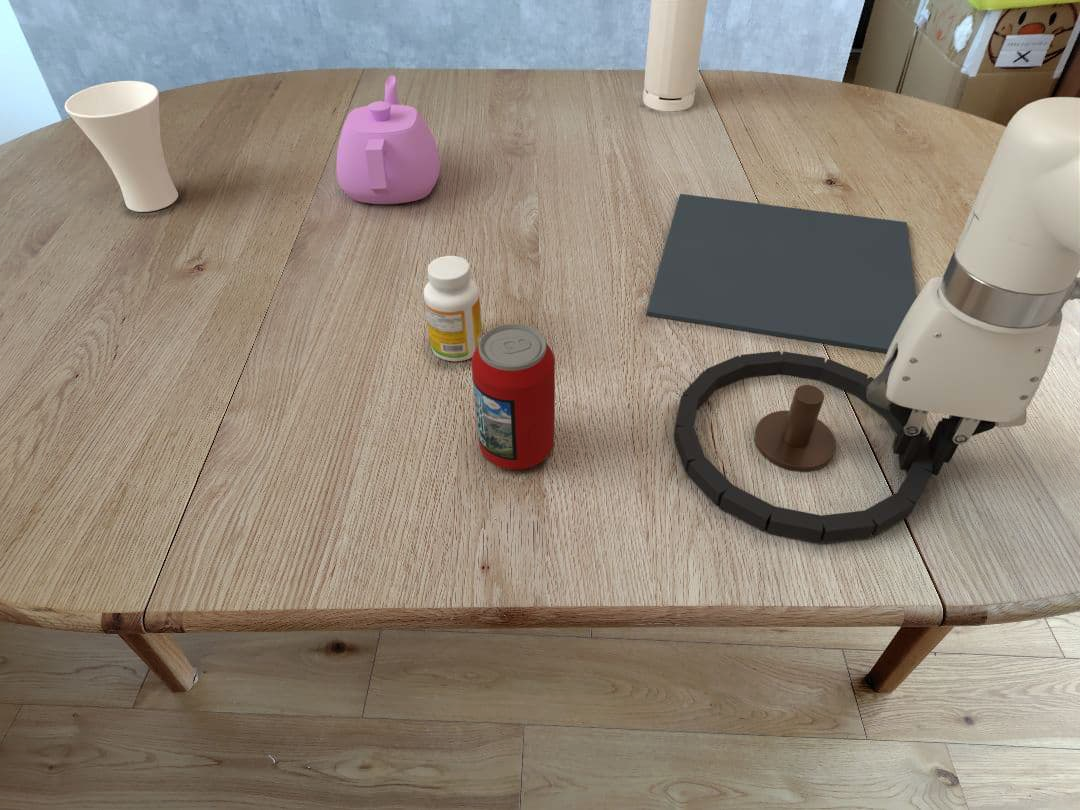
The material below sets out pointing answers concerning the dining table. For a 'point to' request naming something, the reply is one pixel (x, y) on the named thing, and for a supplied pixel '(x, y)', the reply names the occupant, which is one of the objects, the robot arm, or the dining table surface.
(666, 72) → the bottle
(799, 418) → the brown peg stand
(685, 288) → the mat
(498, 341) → the beverage can
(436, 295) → the supplement bottle
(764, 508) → the ring
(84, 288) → the dining table surface
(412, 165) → the teapot
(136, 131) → the cup
